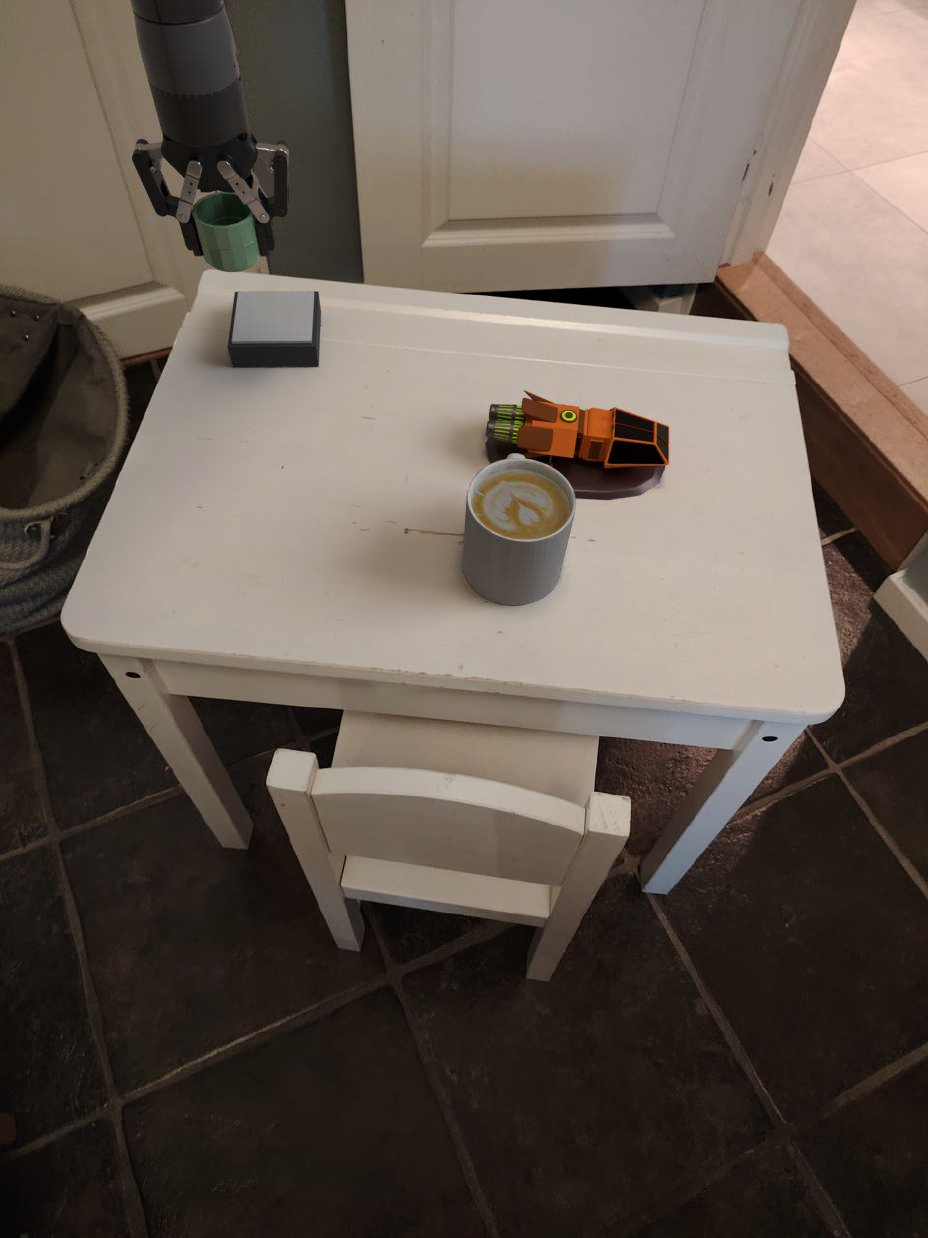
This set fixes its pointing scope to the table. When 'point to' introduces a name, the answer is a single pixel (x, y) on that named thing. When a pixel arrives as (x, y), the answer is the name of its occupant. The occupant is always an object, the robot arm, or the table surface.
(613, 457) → the toy spacecraft
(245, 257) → the green cup
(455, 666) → the table surface
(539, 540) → the coffee mug
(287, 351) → the scale
